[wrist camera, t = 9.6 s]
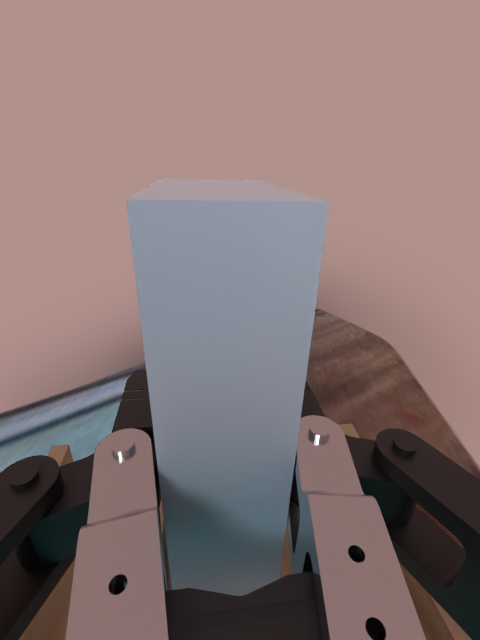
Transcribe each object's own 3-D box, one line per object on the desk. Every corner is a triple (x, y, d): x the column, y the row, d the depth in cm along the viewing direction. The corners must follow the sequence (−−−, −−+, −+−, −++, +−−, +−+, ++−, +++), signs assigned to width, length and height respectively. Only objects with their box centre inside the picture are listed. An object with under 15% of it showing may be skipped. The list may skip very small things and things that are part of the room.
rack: (-130, 943, 8) (-241, 927, 6) (58, 483, 20) (40, 426, 18) (514, 789, 11) (583, 742, 9) (345, 457, 22) (358, 404, 20)
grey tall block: (181, 670, 11) (126, 199, 5) (184, 505, 17) (161, 178, 10) (268, 656, 12) (329, 202, 5) (244, 499, 17) (259, 180, 10)
